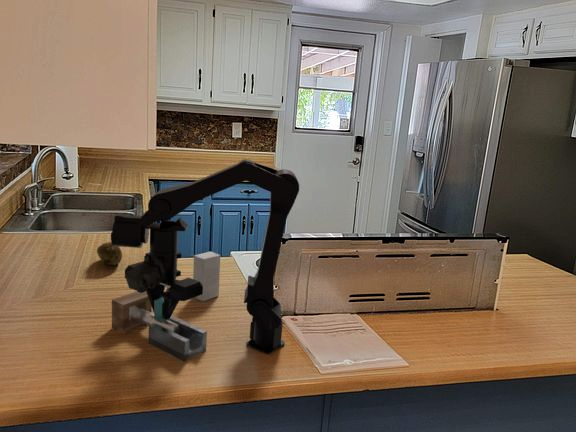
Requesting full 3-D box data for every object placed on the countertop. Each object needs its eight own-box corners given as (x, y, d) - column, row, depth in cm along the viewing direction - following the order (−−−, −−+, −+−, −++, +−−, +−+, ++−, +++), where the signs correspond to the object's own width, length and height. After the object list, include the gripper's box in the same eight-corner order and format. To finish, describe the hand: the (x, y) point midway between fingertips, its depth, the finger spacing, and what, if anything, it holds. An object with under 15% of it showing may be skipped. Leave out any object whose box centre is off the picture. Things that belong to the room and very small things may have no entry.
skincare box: (208, 291, 137) (210, 250, 134) (219, 296, 134) (221, 254, 131) (191, 297, 132) (193, 255, 129) (202, 302, 129) (203, 259, 127)
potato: (129, 259, 157) (129, 235, 155) (118, 273, 144) (118, 247, 143) (102, 257, 156) (102, 233, 154) (89, 271, 144) (89, 245, 142)
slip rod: (179, 334, 107) (180, 303, 105) (169, 339, 105) (170, 307, 103) (134, 313, 115) (134, 284, 113) (124, 318, 113) (124, 287, 111)
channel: (206, 350, 105) (206, 331, 104) (184, 361, 100) (185, 341, 99) (170, 333, 111) (171, 315, 110) (148, 343, 106) (148, 324, 105)
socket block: (151, 322, 116) (151, 294, 114) (123, 333, 109) (123, 304, 108) (140, 317, 118) (140, 290, 116) (111, 328, 112) (111, 299, 110)
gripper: (103, 246, 102) (103, 315, 106) (164, 269, 92) (163, 344, 96) (145, 236, 111) (144, 300, 115) (206, 256, 101) (203, 325, 105)
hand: (162, 316), depth 107 cm, fingers open, 3 cm apart
